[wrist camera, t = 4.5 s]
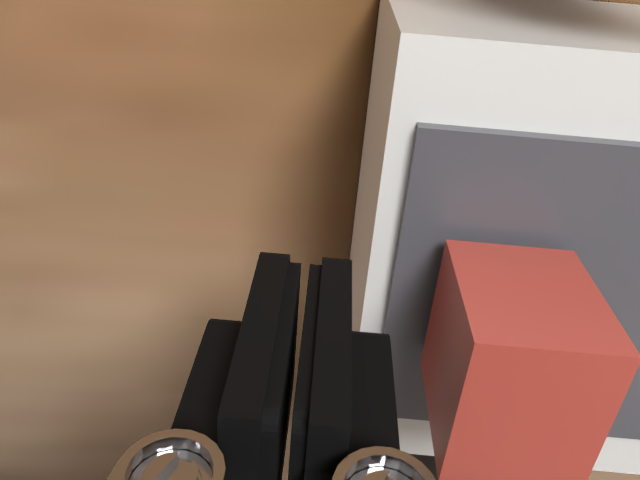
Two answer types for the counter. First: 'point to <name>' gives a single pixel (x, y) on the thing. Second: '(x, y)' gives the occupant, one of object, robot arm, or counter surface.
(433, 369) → the slider
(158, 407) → the counter surface
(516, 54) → the switch box
